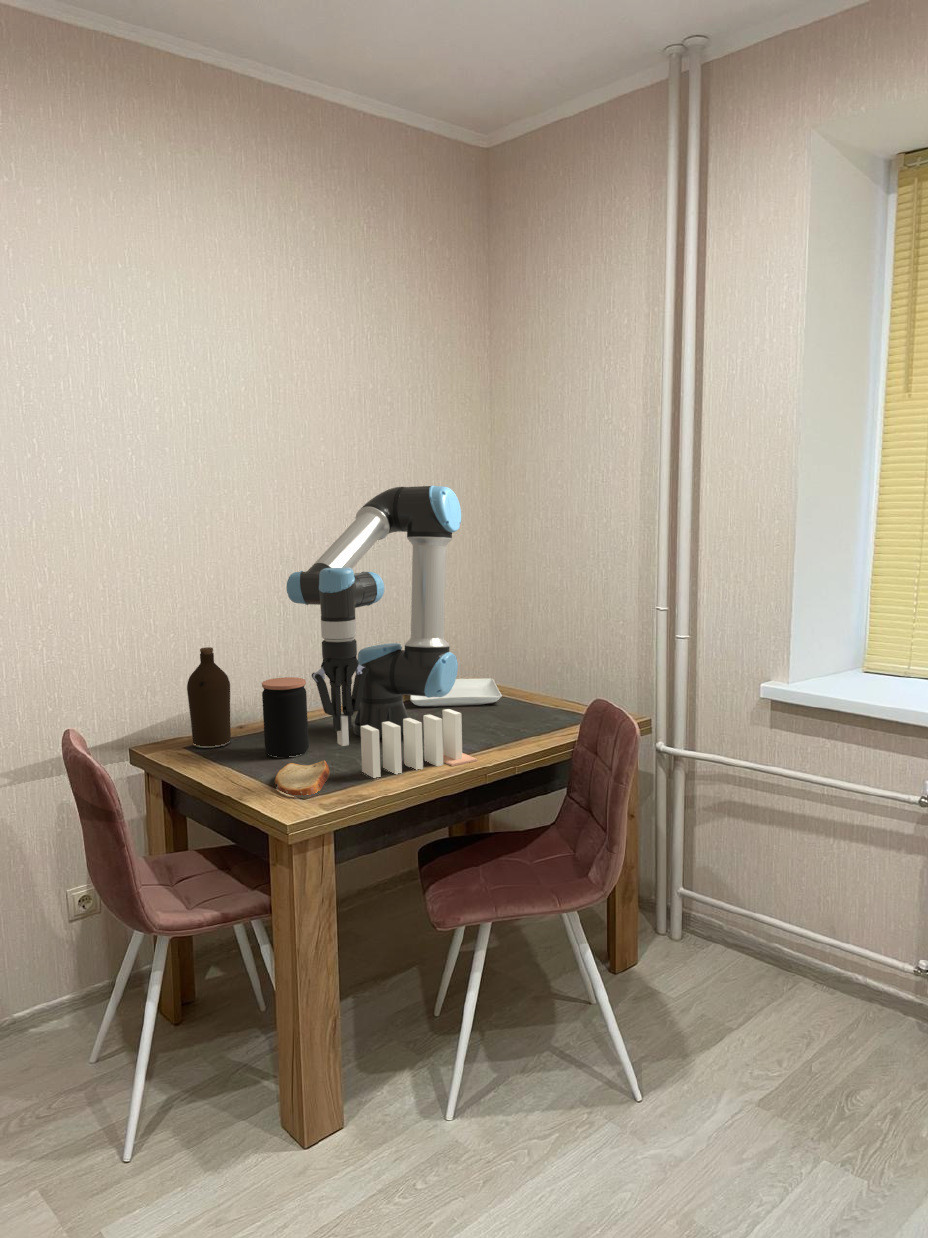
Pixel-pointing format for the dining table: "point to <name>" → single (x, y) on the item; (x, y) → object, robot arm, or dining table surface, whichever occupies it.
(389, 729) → the domino
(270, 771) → the dining table surface
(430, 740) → the domino
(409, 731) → the domino
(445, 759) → the mat
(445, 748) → the domino
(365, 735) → the domino
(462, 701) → the square plate
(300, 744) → the coffee jar
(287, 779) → the slice of bread
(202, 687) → the olive oil
